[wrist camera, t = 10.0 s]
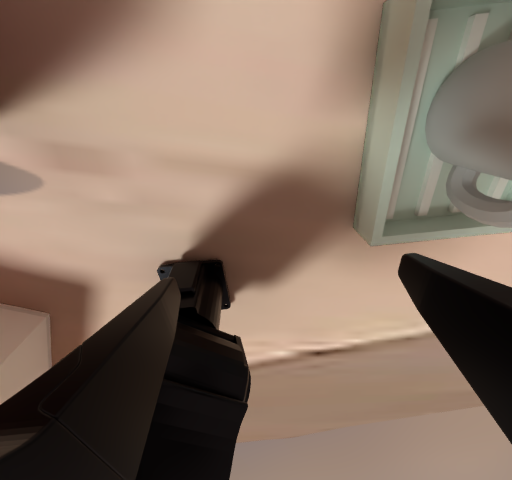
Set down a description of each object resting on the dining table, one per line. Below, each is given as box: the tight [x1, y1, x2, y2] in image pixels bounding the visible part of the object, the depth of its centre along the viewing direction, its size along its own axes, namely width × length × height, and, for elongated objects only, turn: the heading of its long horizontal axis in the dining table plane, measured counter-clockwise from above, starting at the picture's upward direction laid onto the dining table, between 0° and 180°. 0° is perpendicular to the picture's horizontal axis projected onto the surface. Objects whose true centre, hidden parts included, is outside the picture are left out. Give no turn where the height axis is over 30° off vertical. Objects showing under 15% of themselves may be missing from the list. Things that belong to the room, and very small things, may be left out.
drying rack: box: [353, 0, 512, 246], centre depth 16 cm, size 16×14×4 cm
